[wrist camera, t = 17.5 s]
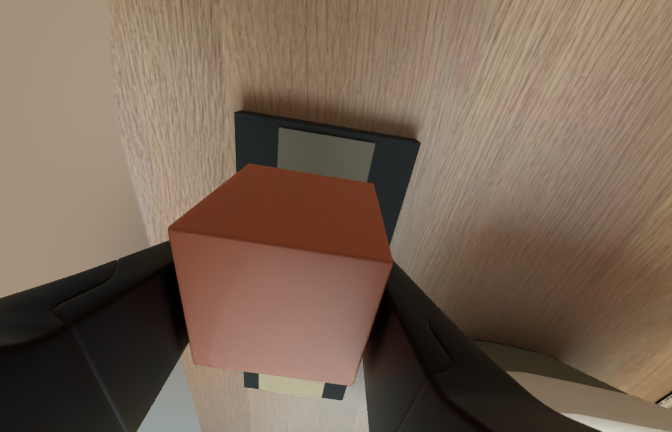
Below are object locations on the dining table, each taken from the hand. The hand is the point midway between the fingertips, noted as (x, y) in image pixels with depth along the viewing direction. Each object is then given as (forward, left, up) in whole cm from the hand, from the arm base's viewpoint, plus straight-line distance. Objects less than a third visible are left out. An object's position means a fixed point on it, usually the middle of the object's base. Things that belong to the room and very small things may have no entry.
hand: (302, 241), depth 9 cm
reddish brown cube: (0, 0, -1) cm, 1 cm away
